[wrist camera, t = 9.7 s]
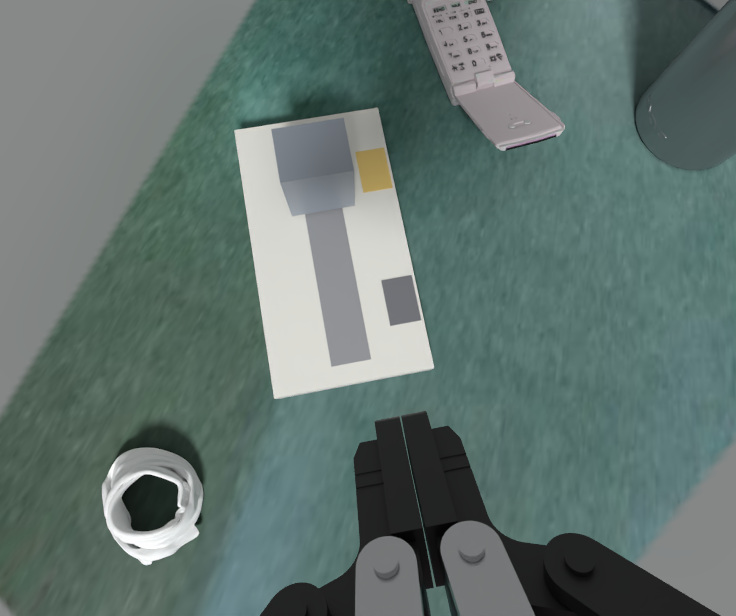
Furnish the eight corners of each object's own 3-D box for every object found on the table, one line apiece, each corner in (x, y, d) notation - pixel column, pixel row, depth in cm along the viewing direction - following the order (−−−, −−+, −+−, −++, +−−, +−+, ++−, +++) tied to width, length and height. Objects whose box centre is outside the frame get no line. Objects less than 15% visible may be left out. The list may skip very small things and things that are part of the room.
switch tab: (345, 159, 38) (343, 117, 32) (354, 205, 37) (354, 170, 31) (284, 170, 37) (271, 129, 32) (292, 216, 37) (280, 182, 31)
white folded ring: (102, 474, 36) (54, 484, 31) (176, 424, 36) (140, 427, 31) (149, 571, 34) (106, 597, 29) (226, 517, 34) (196, 536, 29)
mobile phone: (496, 151, 34) (392, -113, 39) (475, 187, 40) (386, -46, 45) (571, 131, 35) (460, -127, 39) (539, 170, 41) (446, -60, 45)
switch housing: (377, 121, 41) (377, 107, 39) (430, 369, 37) (434, 367, 35) (240, 143, 40) (234, 130, 38) (278, 398, 36) (274, 398, 34)
